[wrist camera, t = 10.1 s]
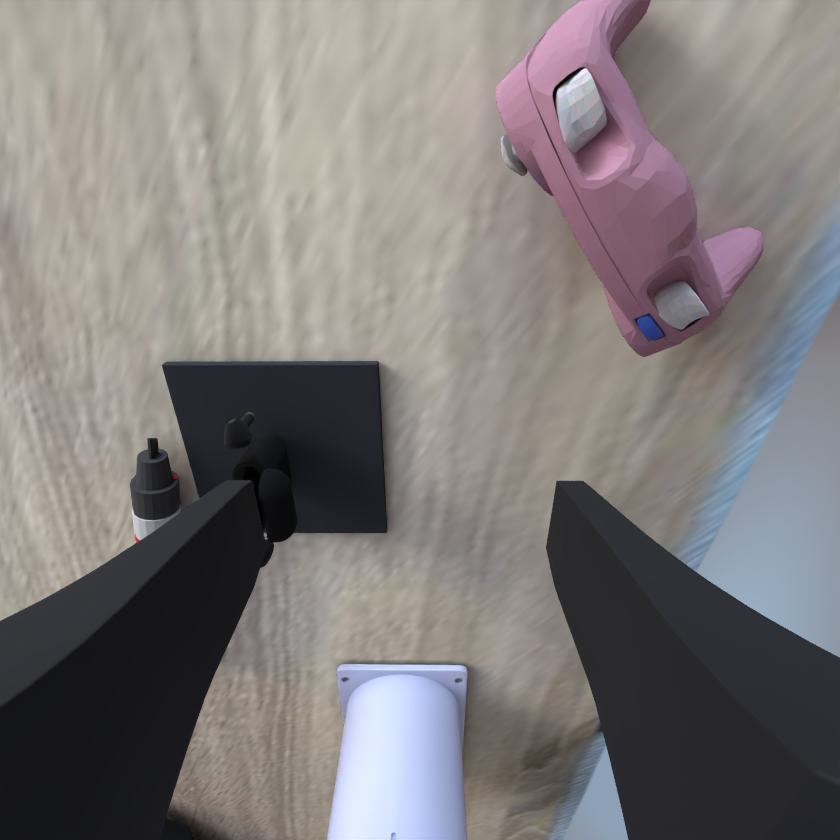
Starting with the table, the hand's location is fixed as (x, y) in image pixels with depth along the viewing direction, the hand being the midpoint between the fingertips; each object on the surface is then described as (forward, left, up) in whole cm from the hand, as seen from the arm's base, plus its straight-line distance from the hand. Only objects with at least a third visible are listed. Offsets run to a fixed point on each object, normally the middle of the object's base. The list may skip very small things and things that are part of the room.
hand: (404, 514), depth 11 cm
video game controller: (+7, -7, -10) cm, 14 cm away
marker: (-10, +13, -10) cm, 19 cm away
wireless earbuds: (-4, +6, -9) cm, 12 cm away
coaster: (-4, +6, -9) cm, 12 cm away
